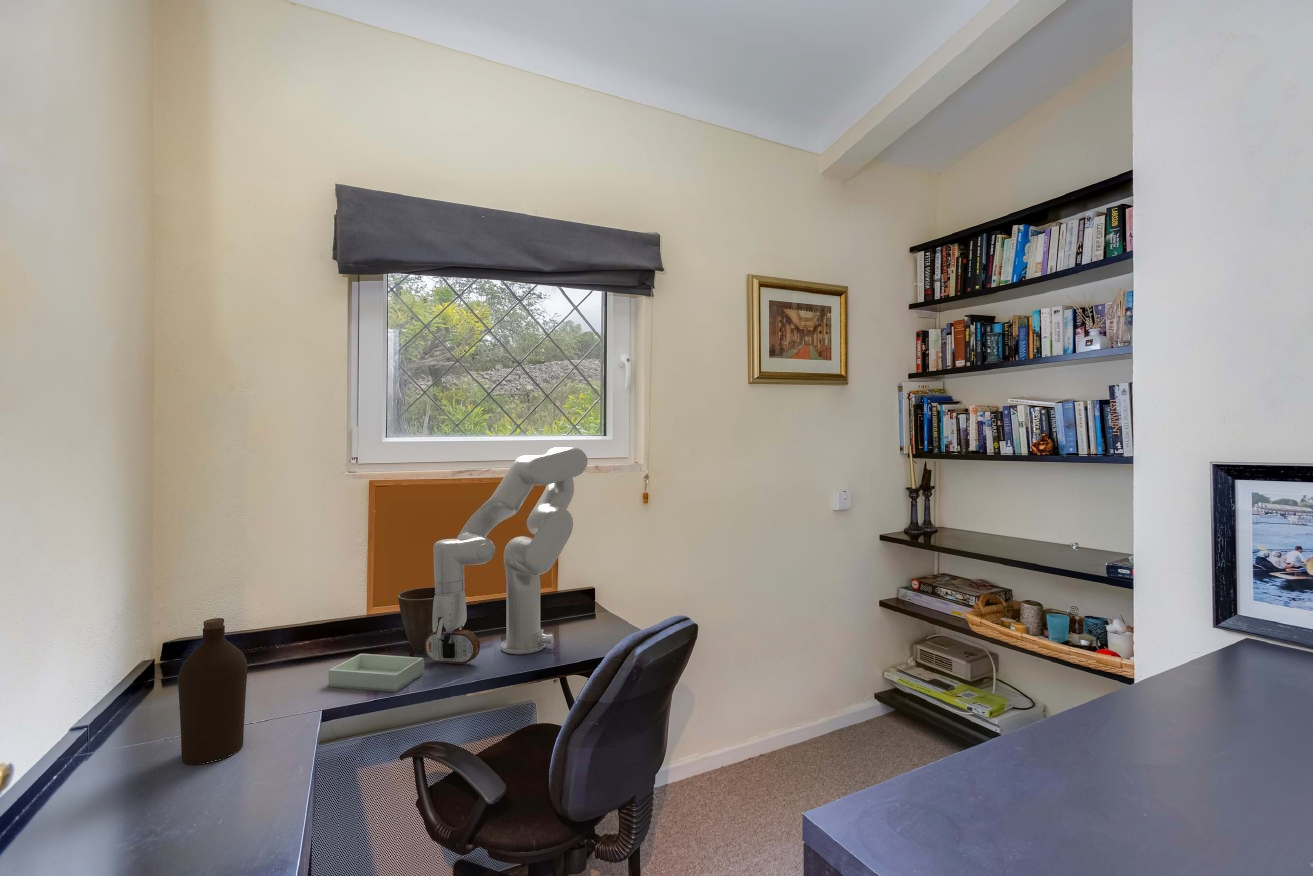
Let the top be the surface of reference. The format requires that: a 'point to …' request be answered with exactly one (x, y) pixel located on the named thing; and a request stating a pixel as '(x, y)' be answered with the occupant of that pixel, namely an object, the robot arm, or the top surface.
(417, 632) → the plant pot
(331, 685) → the tray
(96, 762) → the top surface
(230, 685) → the olive oil
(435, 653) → the tin
